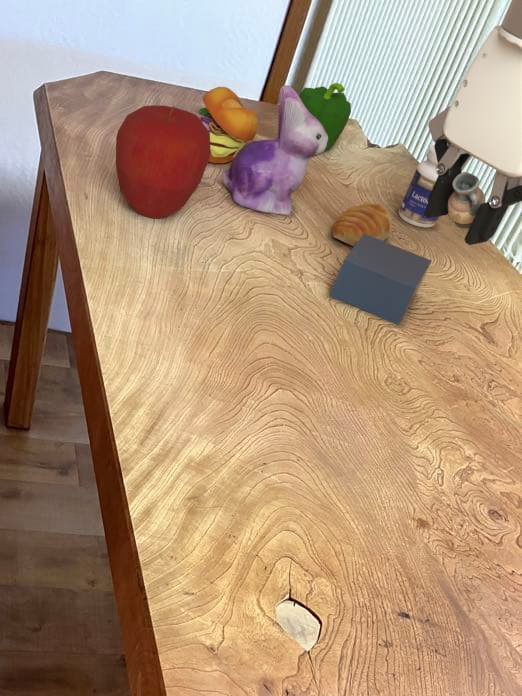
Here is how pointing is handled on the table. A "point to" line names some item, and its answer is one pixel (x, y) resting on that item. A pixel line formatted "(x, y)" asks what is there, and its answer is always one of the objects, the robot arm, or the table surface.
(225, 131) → the cheeseburger
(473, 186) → the vase
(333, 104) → the bell pepper
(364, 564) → the table surface
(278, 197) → the figurine
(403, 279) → the block
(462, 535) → the table surface
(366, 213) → the pastry
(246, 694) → the table surface
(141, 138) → the apple
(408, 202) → the pill bottle
